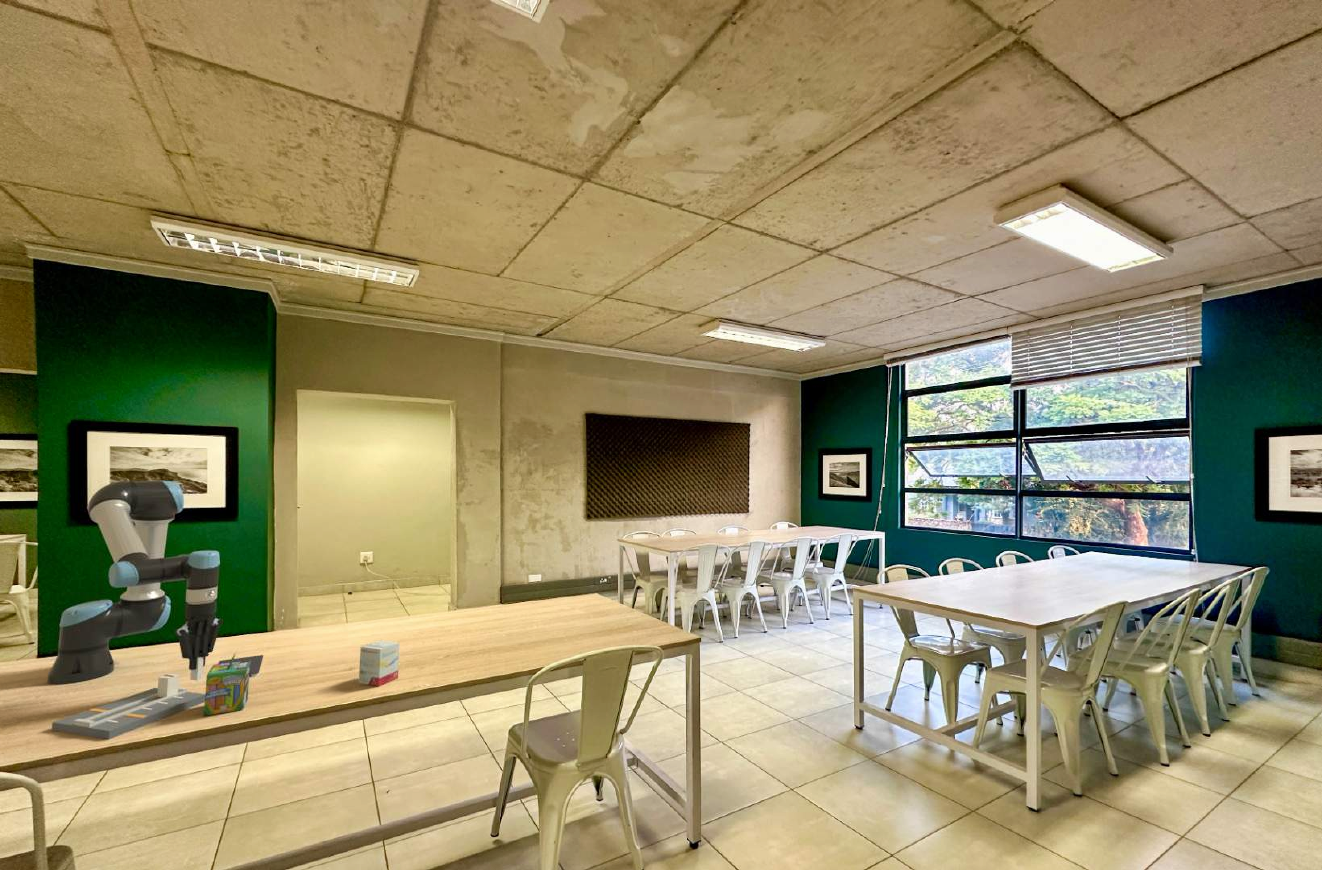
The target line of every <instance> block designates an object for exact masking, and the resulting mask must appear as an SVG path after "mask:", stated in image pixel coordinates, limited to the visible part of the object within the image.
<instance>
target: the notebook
mask: <svg viewBox="0 0 1322 870" xmlns="http://www.w3.org/2000/svg"><path fill="white" fill-rule="evenodd" d="M263 659H264V655H263V654H260V655H252V656H245V657H244V656H243V657H237V658H234V660H233V662H242V661H251V663H250V675H249V678H252V677H258V676H259V675H260V670H261V668H262V662H263ZM231 660H232V658H231V659H230V658H229V659H223V660H219V661H218V662H217V664H224V663H230V662H231Z"/></svg>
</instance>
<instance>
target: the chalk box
mask: <svg viewBox="0 0 1322 870" xmlns="http://www.w3.org/2000/svg"><path fill="white" fill-rule="evenodd" d="M236 654H237V653H236V652H235V653H234V654H233V656H232V657H231V659H232V660H231V662H230V663H224V664H218V663H217V664H213V665H211V667H210V670H209V671H208V673H207V675H206V682H205V693H204V694H205V702H204V709H203V710H204V711H203V717H207V716H210V715H211V716H212V715H219V714H226V713H231V712H238V711H239V712H240V711H243V710H244V708H245V707H246V704H247V702H248V699H249V696H248V695H249V686H250V685H249V683H250V677H249V675H250V663H251V661H242V662H233V660H234V659H235V656H236Z"/></svg>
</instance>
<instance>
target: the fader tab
mask: <svg viewBox="0 0 1322 870" xmlns="http://www.w3.org/2000/svg"><path fill="white" fill-rule="evenodd" d="M157 679H158V682H157V683H158V684H157V688H158V693H157V697H167V696H169V695H172V694H175V693H178V687H179V685H180V683H179V682H180V674H175V673H168V674H164V675H161V676H158V678H157Z"/></svg>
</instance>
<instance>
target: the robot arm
mask: <svg viewBox="0 0 1322 870" xmlns="http://www.w3.org/2000/svg"><path fill="white" fill-rule="evenodd" d="M184 505H185V498H184V492H183V489H182V488H181V486H180V484H179V483H177V482H176V481H172V480H171V481H170V480H161V479H159V480H130V481H129V480H120V481H114V482H111V483H109V484H106V485H104V486H102V487H101V488H100V489H97V491H96V492H95V493H94V494H93V495H92V496H91V498H90V500H89V502H88V505H87V512H88V515H89V517H90V520H92V522H94V523H96V524H97V525H98V527H99V529H100V531H101V534H102V537H103V539H104V541H105V544H106V546H107V548H108V551H109V553H110V555H111V557H112V560H113V562H114V563H113V564H111V566H110V567H109V571H108V581H109V584H110V586H111V587H112V588H117V589H118V588H127V589H126V591H124V592H123V593H122V594H121V595H120V597H119V601H118V602H113V601H112V600H111V599H100V600H93V601H87V602H83V603H80V604H77V605H73V606H71V607H69V608H66V609H64V611H62V613H61V618H60V623H59V636H58V637H59V638H58V650H57V657H56V659H55V660H54V662H53V664H52V666H51V668H50V671H49V673H47V674H48V675H47V683H50V684H56V685H57V684H58V685H59V684H61V685H62V684H71V683H79V682H84V681H88V680H89V681H90V680H92V679H97V678H101V677H104V676H107V675H108V674H110V673H112V672H113V671H115V670H114V669H115V662H114V659H113V656H112V654H111V650H110V648H109V642H110V639H114V638H115V639H116V638H121V637H124V636H125V637H126V636H130V635H136V634H141V633H143V634H145V633H148V632H151V631H156V630H159V629H161V628H162V627H163V626H165V624H166V623H167V621H168V620H169V617H170V614H171V602H172V601H171V599H170V597H169V596H167V595H165V593H166V592H165V591H164V590H162V589H161V583H166V582H168V583H170V582H175V581H184V580H186V591H185V592H186V593H185V602H186V603H185V606H184V607H185V609H184V616H185V621H184V622H183V625H182V626H181V627H180V628H176V629H175V630H174V633H175V634H176V635H177V638H178V642H179V648H180V653H181V657H182V659H187V660H189V661H188V669H189V671H190V677H189V678H190V681H199V680H202V679H203V670H204V669H203V668H204V667H205V666H206V657H208V656H209V655H210V653H212V652H214V649H215V643H216V641H217V638H218V634H219V631H220V627H221V626H222V624H223V622H224V620H223V619H218V618H216V617H217V616H216V615H215V614H216V612H217V598H218V587H219V573H220V564H221V561H220V552H219V551H217V550H199V551H192V552H191V553H187V554H179V555H177V556H170V557H165V550H166V544H167V535H168V528H169V523H171V522H172V521H173V520H175V515H176V514H178V513H181V512H182V511H183V508H184Z"/></svg>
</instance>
